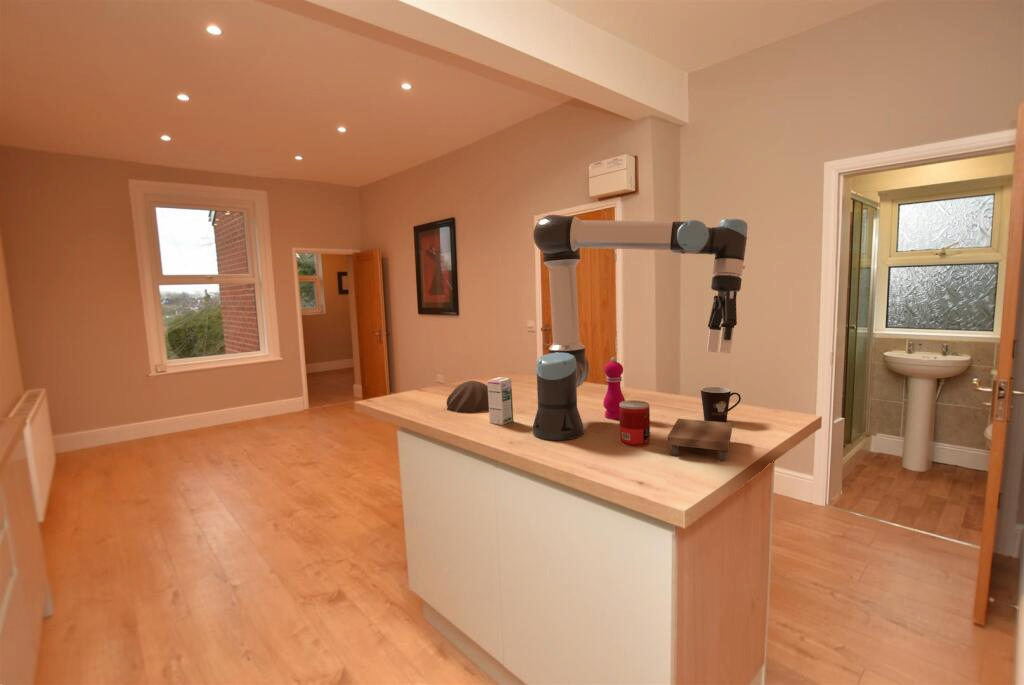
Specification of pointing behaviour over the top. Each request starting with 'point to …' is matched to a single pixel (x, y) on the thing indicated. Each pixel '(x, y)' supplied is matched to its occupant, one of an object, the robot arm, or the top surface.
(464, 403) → the decorative dome
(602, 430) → the top surface
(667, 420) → the top surface
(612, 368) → the pepper mill
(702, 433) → the walnut shelf
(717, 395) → the coffee mug
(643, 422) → the canned food
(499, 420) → the syrup box
